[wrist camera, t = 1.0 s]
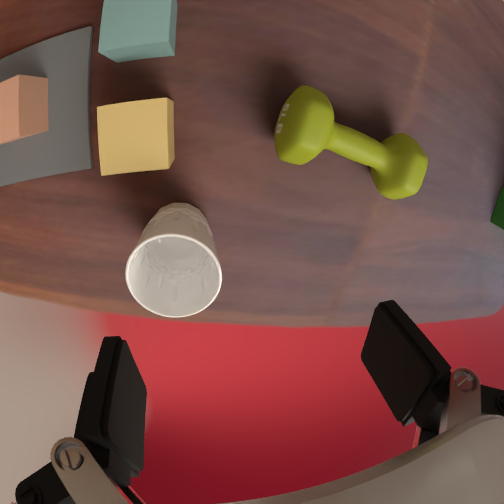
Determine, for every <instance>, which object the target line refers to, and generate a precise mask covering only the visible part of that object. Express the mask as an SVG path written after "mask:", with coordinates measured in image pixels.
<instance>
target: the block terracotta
mask: <svg viewBox="0 0 504 504" xmlns="http://www.w3.org/2000/svg"><path fill="white" fill-rule="evenodd" d="M45 131H49V127H48V78H43V77H36V76H28V75H20V74H19V75H17V76H14V77H12V78H10V79H7V80H5V81H3V82H1V83H0V145H1V144H4V143H8V142H11V141H14V140H17V139H21V138H24V137H27V136H31V135H34V134H38V133H41V132H45Z"/></svg>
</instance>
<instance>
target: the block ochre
mask: <svg viewBox="0 0 504 504" xmlns="http://www.w3.org/2000/svg"><path fill="white" fill-rule="evenodd" d="M97 124H98V143H99V157H100V168H101V176H103V175H111V174H120V173H129V172H139V171H150V170H162V169H169V168H170V166H171V164H172V162H173V161H174V159H175V155H174V101H172V100H170V99H169V98H157V99H147V100H138V101H131V102H124V103H117V104H111V105H105V106H99V107H97Z"/></svg>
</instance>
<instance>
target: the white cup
mask: <svg viewBox="0 0 504 504" xmlns="http://www.w3.org/2000/svg"><path fill="white" fill-rule="evenodd" d="M125 276H126V282H127V286H128V288H129V290H130V292H131V294H132V296H133V297H134V298H135V299H136V301H137V302H138V303H139V304H141V305H142V306H143V307H144V308H146V309H147V310H149V311H151V312H153V313H156V314H158V315H162V316H166V317H185V316H190V315H193V314H196V313H198V312H200V311H202V310H203V309H205V308H206V307H208V306H209V305H210V304H211V303H212V302H213V301H214V299H215V298H216V296H217V295H218V293H219V290H220V287H221V283H222V272H221V267H220V263H219V259H218V255H217V251H216V247H215V243H214V240H213V236H212V233H211V231H210V228H209V225H208V221H207V219H206V218H205V216H204V215H203V214H202V212H201V211H200V210H199V209H197V208H196V207H194V206H192V205H190V204H188V203H171V204H168V205H166V206H164V207H161V208H160V209H159V210H158V211H157V212H156V214H155V215H154V216H153V217H152V218H151V220H150V221H149V223H148V224H147V226H146V227H145V229H144V230H143V232H142V234H141V236H140V238H139V239H138V241H137V243H136V245H135V247H134V249H133V251H132V253H131V254H130V256H129V258H128V261H127V264H126V271H125Z"/></svg>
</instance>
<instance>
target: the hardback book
mask: <svg viewBox="0 0 504 504" xmlns="http://www.w3.org/2000/svg"><path fill="white" fill-rule="evenodd" d="M490 222H492V223H493V224H495V225H497V226H499V227H500V228H502V229H503V230H504V188H503V187H502V188H501V191H500V195H499V198H498V201H497V204H496V207H495V210H494V213H493V216H492V219H491V221H490Z"/></svg>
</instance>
